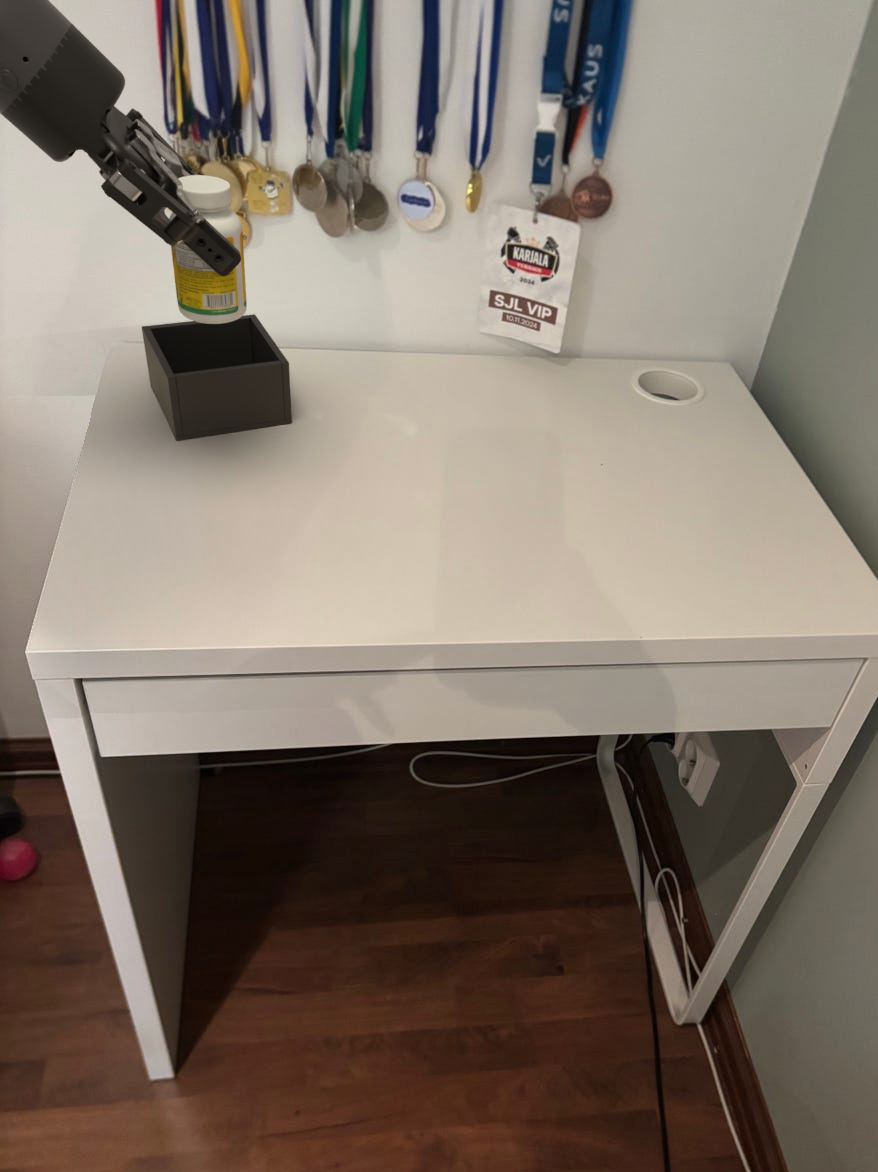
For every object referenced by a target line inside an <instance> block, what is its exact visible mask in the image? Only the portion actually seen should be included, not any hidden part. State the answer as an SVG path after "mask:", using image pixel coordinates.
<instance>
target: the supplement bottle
mask: <svg viewBox="0 0 878 1172" xmlns="http://www.w3.org/2000/svg"><path fill="white" fill-rule="evenodd" d="M178 179H179V180H180V181H181V183H182V185H183V195H184V196H185V197H186V198H187V200H188V201H189V202H190V203H191V204H192V205H193V206H194V207H195V208H196V209H197V210H198V211H199V212H200V213H201V215H202V217H203V218H205V219H206V220H207V221H208V222H209V223H210V224H211V225H212V226H213V227H214V228H215V229H216V230H217V231H218V232H219V233H221V234H222V235H223V236H224V237H225V238H226V239H227V240H228V241H229V242H230V243H231V244H232V245H233V246H234V247H235V248H237V249H238V250H239V252H240V254H241V261H240V263H239V264H238V265H237V266H236V267H235V268H234V269H233V270H232V271H231V272H230V273H229V274H228V275H227V276H220V275H219V274H218V273H217V272H215V271H214V270H213V269H212V268H211V267H210V266H209V265H208V264H207V263H205V262H204V261H203V260H202V259H201V258H200V257H199V256H198V255H197V254H195V253H194V252H193V251H192V250H191V249H190V248H189V247H188V246H187V245H186V244H184V242H183V243H182V244H179V243H177V244H176V245H175V246H174V247H173V246H171V245H170V250H171V256H172V257H171V258H172V266H173V275H174V283H175V285H174V286H175V294H176V302H177V307H178V311H179V313H180V314H182V316H183V317H185V318H186V319H189V320H190V321H196V322H200V323H207V324H221V323H227V322H232V321H235V320H237V319H239V318H240V317H242V316H245V315H246V312H247V307H248V304H247V303H248V302H247V287H246V286H247V285H246V284H247V283H246V271H245V252H244V250H245V249H244V233H243V232H244V231H243V223H242V220H241V218H240V217H239V215H238V214H237V213H236V212H235V211H234V210H232V209H231V208H230V207H231V206H232V202H233V198H232V187H231V184H230V183H229V181H227V180H226V179H224V178H221V177H217V176H213V175H206V174H205V175H204V174H195V175H190V176H184V177H181V178H178ZM175 216H176V214H174V213H173V212H172V211H171V214H170V215H169V217H168V218H169V219H170V220H172V219H173V218H174V217H175Z"/></svg>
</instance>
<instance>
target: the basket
mask: <svg viewBox="0 0 878 1172" xmlns="http://www.w3.org/2000/svg"><path fill="white" fill-rule="evenodd" d="M141 331H142V339H143V346H144V352H145V357H146V366H147V371H148V377H149V383H150V389H151V390H152V392H153V394H154V396H155V399H156V400H157V403H158V405H159V407H160V409H161V411H162V413H163V416H164V417H165V419H166V421H167V423H168V426H169V428H170V430H171V432H172V434H173V437H174V438H175V440H176V441H184V440H191V439H197V438H203V437H210V436H211V437H212V436H218V435H223V434H229V433H236V432H242V431H249V430H256V429H262V428H267V427H277V426H282V425H288V424H292V423H293V418H292V417H293V416H292V398H291V397H292V396H291V377H290V362H289V360H288V359H287V358H286V356H285V355H284V353H283V352H282V351H281V349H280V348H279V346H278V345H277V344H276V342H275V340H274V339H273V338H272V337H271V335H270V333H269V332H268V331H267V329H266V328H265V326H264V325H263V323H262V322H261V321H260V320H259V318H258V316H257V315H256V314H255V313H253V314H244V315H243V316H242V317H240V318H239V319H237V320H235V321H232V322H227V323H221V324H207V323H200V322H196V321H193V320H190V321H181V322H179V321H178V322H170V323H163V324H152V325H142V326H141Z"/></svg>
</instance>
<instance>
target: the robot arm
mask: <svg viewBox="0 0 878 1172" xmlns="http://www.w3.org/2000/svg"><path fill="white" fill-rule="evenodd" d="M125 86H126V78H125V76H124V74H123V72H122V71H121V70H119V68H118V67H116V65H115V64H114V63H112V61H110V59H108V57H106V56H105V54H103V53H102V51H100V49H98V48H97V46H95V45H94V44H93V42H91V41H90V40H89V38H87V37H86V36H85V35H84V34H83V33H82V32H81V31H80V30H79V29H78V27H76V26H75V25H74V24H73V23H72V22H71V21H70V20H69V19H68V18H67V17H66V16H65V15H64V14H63V13H62V12H61V11H60V10H59V9H58V8H57V7H56V6H55V5H54V4H53V3H52V2H51V1H50V0H0V115H1V116H3V117H4V118H5V119H6V120H7V121H9V122H10V123H11V125H12V126H14V127H15V128H16V129H17V130H18V131H20V132H21V133H22V134H23V135H24V136H26V138H27V139H28V140H30V141H31V142H32V143H33V144H34V145H36V146H37V148H39V150H41V151H42V152H44V153H45V154H46V155H47V156H48V157H49V158H50V159H52V161H54V162H57V163H63V162H66V161H67V160H69V159H70V158H72V157H73V156H74V154H75V153H76V152H77V151H83V152H84V153H86V154H87V156H88V157H89V159H91V160H92V161H93V162H94V164H95V165H96V166H97V167H98V168H99V170H98V174H99V175H100V176H101V177H102V178H103V179H104V182H102V183H101V185H100V188H101V189H102V190H103V192H104V194H105V196H106V197H108V198H110V199H111V200H113V201H114V202H115V203H117V204H118V205H119V206H121V208H123V209H124V210H125V211H127V212H128V213H129V214H130V215H132V217H134V218H135V219H137V220H138V221H139V222H140V223H142V224H143V225H144V226H145V227H147V228H148V229H149V230H150V231H152V232H153V233H154V234H155V235H157V236H158V237H159V238H160V239H162V240H163V241H164V242H165V243H166V244H167V245H169V246H170V247H171V246H173V247H174V246H175V245H176V244H177V243H179V244H182V243H183V242H184V244H186V245H187V246H188V247H189V248H190V249H191V250H192V251H193V252H194V253H195V254H197V255H198V256H199V257H200V258H201V259H202V260H203V261H204V262H205V263H207V264H208V265H209V266H210V267H211V268H212V269H213V270H214V271H215V272H217V273H218V274H219V275H220V276H227V275H228V274H229V273H230V272H231V271H232V270H233V269H234V268H235V267H236V266H237V265H238V264H239V263H240V261H241V254H240V252H239V250H238V249H237V248H235V247H234V246H233V245H232V244H231V243H230V242H229V241H228V240H227V239H226V238H225V237H224V236H223V235H222V234H221V233H219V232H218V231H217V230H216V229H215V228H214V227H213V226H212V225H211V224H210V223H209V222H208V221H207V220H206V219H205V218H203V217H202V215H201V213H200V212H199V211H198V210H197V209H196V208H195V207H194V206H193V205H192V204H191V203H190V202H189V201H188V200H187V198H186V197H185V196H184V195H183V185H182V183H181V181H180V180H179V179H178V178H181V177H184V176H190V175H196V172H195V170H194V168H193V167H192V165H191V164H189V163H188V162H186V161H185V159H183V157H182V156H180V154H179V153H178V152H177V151H176V150H175V149H174V148H173V146H171V145H170V144H169V143H168V141H166V140H165V139H164V138H163V136H162V135H161V134H159V133H158V131H157V130H156V129H155V128H154V127H153V126H152V124H150V123H149V121H147V120H146V119H145V117H144V115H143V114H142V113H141V112H140V111H139V110H136V109H135V108H132V107H131V109H130V110H129V111H128V112H127V114H125V113H123V112H122V111H121V110H119V109H118V108H117V107H116V106H115V105H116V104H117V102H118V100H119V99H120V98H121V95H122V94H123V91H124V89H125ZM166 209H169V211H171V213H172V212H173V213H174V214H176V216H175V217H174V218H173V219H172V220H170V219H169V218H170V217H168V216H167V214H166V212H165V210H166Z"/></svg>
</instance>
